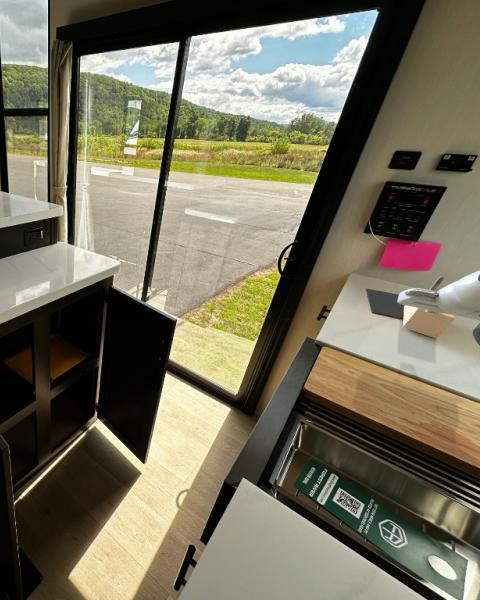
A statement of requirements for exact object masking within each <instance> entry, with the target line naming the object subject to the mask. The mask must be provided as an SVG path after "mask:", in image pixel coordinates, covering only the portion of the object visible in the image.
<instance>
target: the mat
mask: <svg viewBox="0 0 480 600" xmlns="http://www.w3.org/2000/svg"><path fill="white" fill-rule="evenodd" d="M366 289H367V290H366ZM366 289H365V291H366V294H367V298H368V303H369V307H370V310H371V313H372V314H375V315H380V316H385V317H389V318H392V319H398V320H403V319H404V306H405V305H402V304H399V303H398V302H397V301H398V296H399V294H400V293H399V294H398V293H393V292H388V291H382V290H377V289H372V288H366Z"/></svg>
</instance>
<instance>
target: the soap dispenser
mask: <svg viewBox="0 0 480 600" xmlns="http://www.w3.org/2000/svg"><path fill="white" fill-rule="evenodd" d="M445 278H446V277H445V275H439V277H437V279H436V280H434V282H433V283H432V285H431V286H430V287H429V289H428V290H432V291H436V289H438V287H440V286H439V285H441V283H442V282H443V281H444V280H445ZM419 288H420V289H423V287H419ZM425 310H426V309H422V308H417V307H412V306H407V305H405V306H404V319H403V321H402V327H403V328H405V329H406V330H407V329H408V330H410V331H413V332H415V333H418V334H422V335H424V336H427V337H431V338H433V339H438V338H439V337H440V336H441V334H443V333H444V332H445V330H446V329H447V328H448V327H449V326H450V325H451V324H452V323H453V322H454V321H455V319H456V318H455V315H452V314H447V313H440V314H434V313H429V312H425Z"/></svg>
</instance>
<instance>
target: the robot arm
mask: <svg viewBox="0 0 480 600" xmlns="http://www.w3.org/2000/svg"><path fill="white" fill-rule="evenodd" d="M420 288H421V287H415V288H413V287H412V288H407V289H406V290H403V291H401V292H399V296H398V301H397V302H398V303H399V304H402V305H407V306H412V307H417V308H422V309H426V310H425V312H429V313H434V314H440V313H447V314H452V315H454V316H457V317H462V318H467V319H473V320H478V321H480V269H479V270H477V271H474V272H471V273H469V274H467V275H465V276H463V277H461V278H459V280H456V281H453V282H451V283H449V284H447V285H446V286H443V287H441V288H440V289H439V290H437V291H436V290H434V291H432V290H429V289H426V288H422V289H420ZM471 333H472V336H473V338H474V341H475V342H476V344H477V345H478V346H479V347H480V322H479V323H478V324H477V325H476V326H475V327H474V328H473V329H472V332H471Z"/></svg>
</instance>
